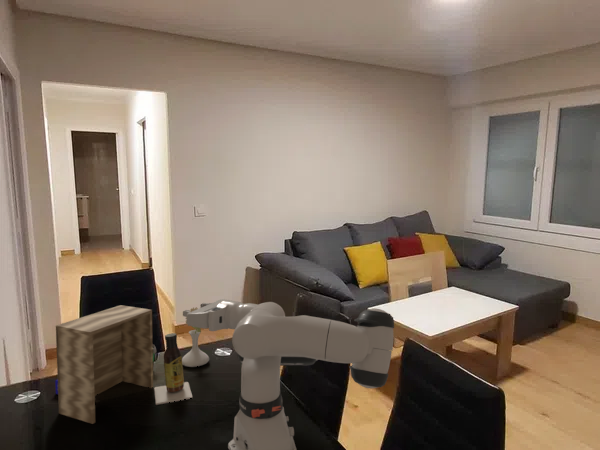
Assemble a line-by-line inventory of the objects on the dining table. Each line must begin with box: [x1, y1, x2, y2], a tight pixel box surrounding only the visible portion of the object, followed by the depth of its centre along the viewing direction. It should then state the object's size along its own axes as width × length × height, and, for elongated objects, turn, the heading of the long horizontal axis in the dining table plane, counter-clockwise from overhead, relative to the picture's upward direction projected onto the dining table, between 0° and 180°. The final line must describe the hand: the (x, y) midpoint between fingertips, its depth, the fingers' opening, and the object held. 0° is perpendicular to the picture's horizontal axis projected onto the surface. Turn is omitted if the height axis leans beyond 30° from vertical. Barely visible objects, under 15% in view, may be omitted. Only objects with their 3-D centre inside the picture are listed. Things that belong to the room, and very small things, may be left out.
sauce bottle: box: [163, 332, 185, 392], centre depth 144 cm, size 7×6×20 cm
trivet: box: [153, 381, 193, 406], centre depth 143 cm, size 12×12×1 cm
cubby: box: [55, 304, 154, 425], centre depth 138 cm, size 15×26×29 cm, turn 157°
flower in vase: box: [182, 307, 210, 368], centre depth 167 cm, size 13×11×25 cm
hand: (193, 309), depth 136 cm, fingers open, 8 cm apart
